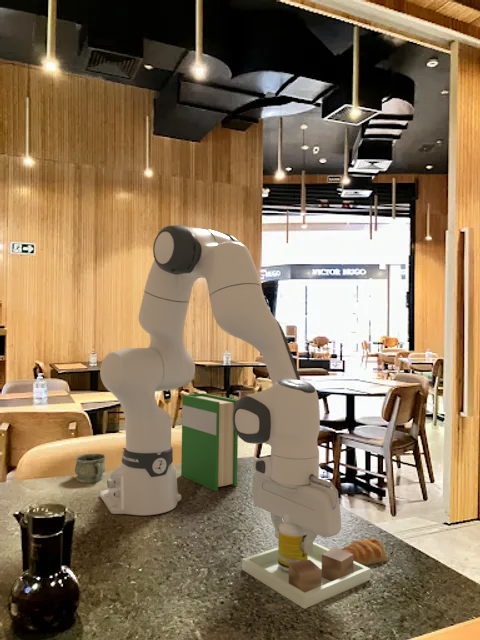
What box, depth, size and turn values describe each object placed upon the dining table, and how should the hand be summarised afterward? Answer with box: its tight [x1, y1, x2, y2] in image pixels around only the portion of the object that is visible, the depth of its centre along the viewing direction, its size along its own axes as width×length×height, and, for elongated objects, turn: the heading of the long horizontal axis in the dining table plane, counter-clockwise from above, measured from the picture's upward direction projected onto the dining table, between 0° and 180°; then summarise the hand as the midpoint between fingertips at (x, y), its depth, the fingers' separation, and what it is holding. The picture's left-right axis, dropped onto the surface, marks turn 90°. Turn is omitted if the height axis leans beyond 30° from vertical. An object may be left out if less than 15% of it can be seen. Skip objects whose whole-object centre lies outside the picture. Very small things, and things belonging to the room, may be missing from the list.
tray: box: [241, 541, 371, 610], centre depth 92 cm, size 16×16×2 cm
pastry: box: [340, 537, 388, 566], centre depth 99 cm, size 9×7×4 cm
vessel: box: [74, 453, 107, 483], centre depth 149 cm, size 12×9×6 cm
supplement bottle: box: [277, 514, 308, 572], centre depth 94 cm, size 5×5×10 cm
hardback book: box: [180, 392, 239, 492], centre depth 149 cm, size 18×7×24 cm, turn 38°
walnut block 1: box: [289, 560, 322, 593], centre depth 86 cm, size 4×4×4 cm
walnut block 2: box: [322, 547, 354, 581], centre depth 91 cm, size 4×4×4 cm
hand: (293, 544), depth 94 cm, fingers closed on supplement bottle, 5 cm apart
